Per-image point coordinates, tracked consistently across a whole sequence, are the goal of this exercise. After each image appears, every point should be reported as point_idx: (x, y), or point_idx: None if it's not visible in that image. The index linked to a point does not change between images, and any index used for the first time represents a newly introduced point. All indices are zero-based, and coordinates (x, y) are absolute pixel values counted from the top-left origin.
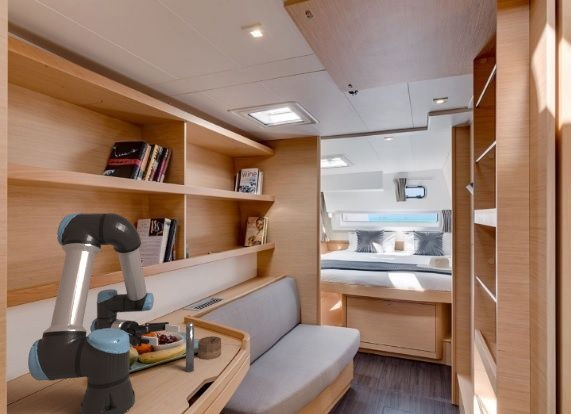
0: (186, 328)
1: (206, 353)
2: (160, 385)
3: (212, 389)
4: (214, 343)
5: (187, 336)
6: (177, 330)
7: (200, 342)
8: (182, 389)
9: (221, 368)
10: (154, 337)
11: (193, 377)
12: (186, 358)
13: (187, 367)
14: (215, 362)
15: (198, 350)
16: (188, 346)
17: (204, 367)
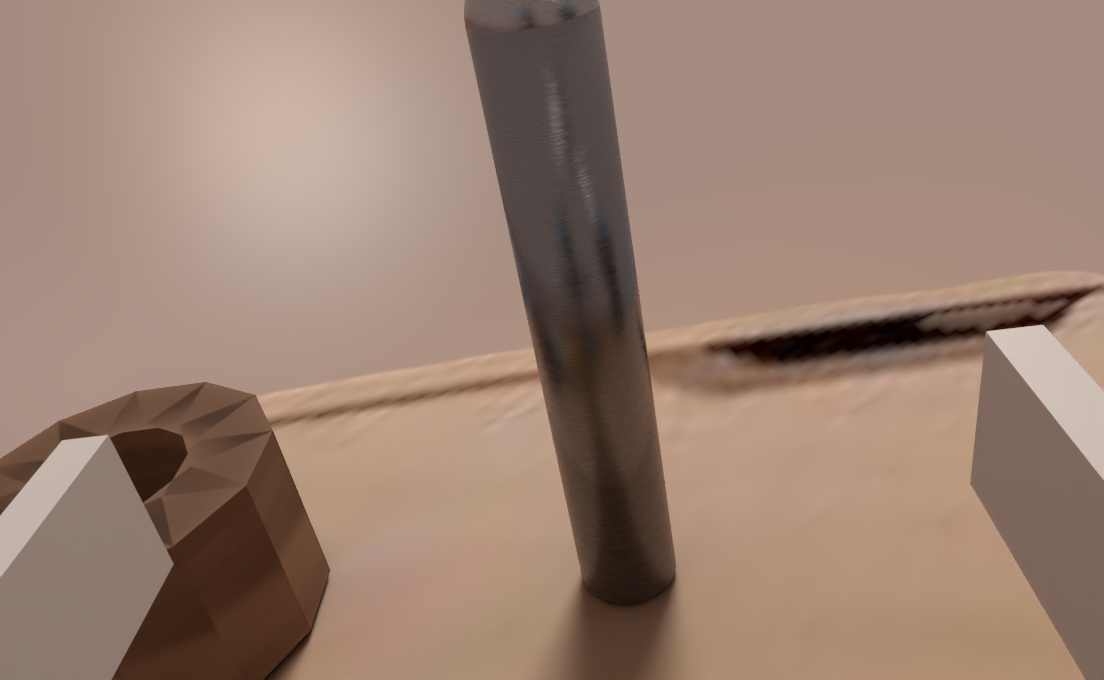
0: (594, 36)
1: (307, 515)
2: None
3: (820, 303)
4: (222, 398)
5: (618, 156)
6: (140, 542)
7: (169, 525)
8: (969, 427)
9: (492, 399)
10: (1040, 395)
11: (735, 473)
12: (653, 449)
13: (669, 522)
14: (380, 485)
15: (224, 621)
16: (637, 284)
17: (507, 505)
